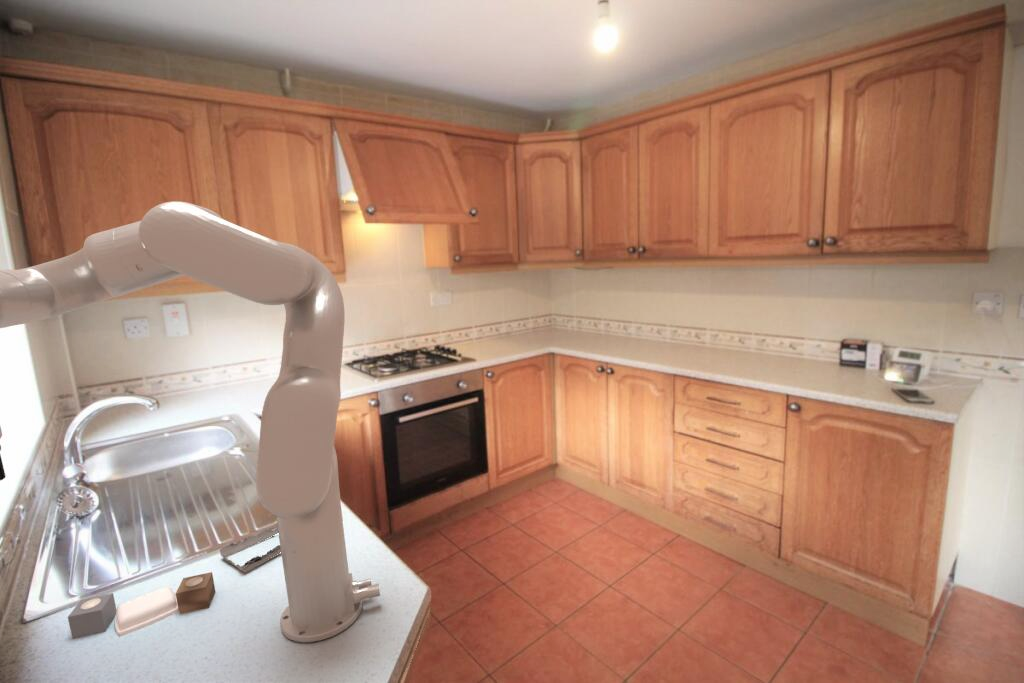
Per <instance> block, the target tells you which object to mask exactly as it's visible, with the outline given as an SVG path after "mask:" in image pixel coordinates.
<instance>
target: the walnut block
mask: <svg viewBox="0 0 1024 683" xmlns="http://www.w3.org/2000/svg"><path fill="white" fill-rule="evenodd" d="M213 575H214V574H213V571H211V572H207V573H200V574H197V575H192V576H187V577H183V578H182V580H181V582H180V584H179V586H178V588H177V589H176V592H175V594H176V599H177V604H178V610H179V612H178V614H179V615H183V614H186V613H187V614H188V613H191V612H196V611H199V610H204V609H209V608H210V607H211V604H212V602H213V599H214V596H215V594H216V587H215V586H216V585H215V581H214V576H213Z"/></svg>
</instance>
